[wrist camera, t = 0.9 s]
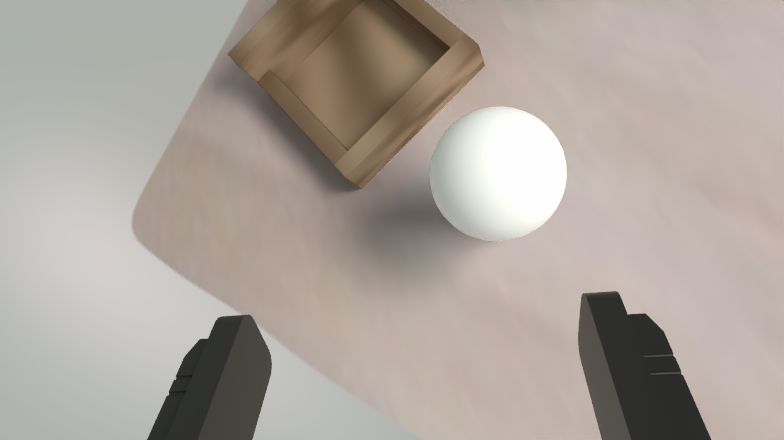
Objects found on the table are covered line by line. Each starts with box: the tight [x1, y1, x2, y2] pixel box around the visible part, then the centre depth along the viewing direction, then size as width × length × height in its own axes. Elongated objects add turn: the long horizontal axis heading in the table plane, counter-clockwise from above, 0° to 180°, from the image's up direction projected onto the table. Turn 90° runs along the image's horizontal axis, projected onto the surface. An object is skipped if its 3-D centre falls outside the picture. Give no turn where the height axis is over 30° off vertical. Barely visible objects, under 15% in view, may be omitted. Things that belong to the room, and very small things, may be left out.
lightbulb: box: [430, 106, 567, 241], centre depth 26 cm, size 6×6×11 cm
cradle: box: [228, 0, 485, 189], centre depth 34 cm, size 11×11×5 cm
